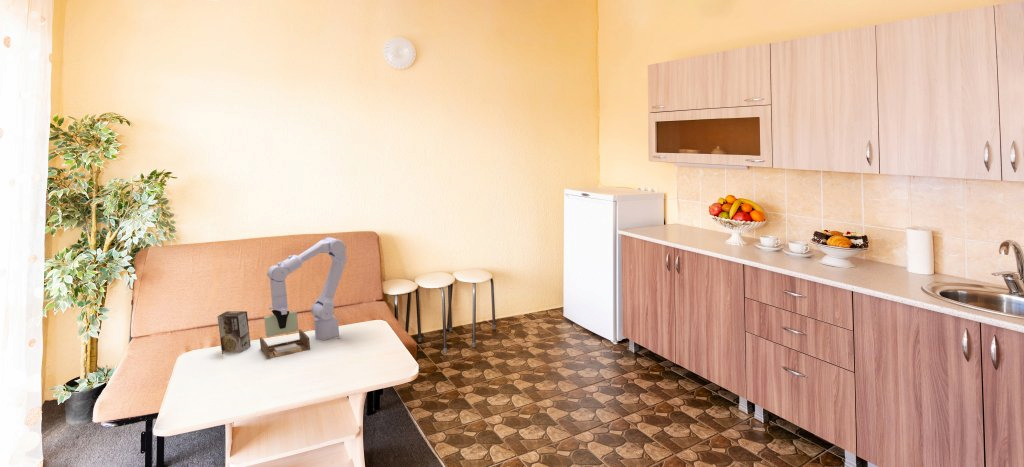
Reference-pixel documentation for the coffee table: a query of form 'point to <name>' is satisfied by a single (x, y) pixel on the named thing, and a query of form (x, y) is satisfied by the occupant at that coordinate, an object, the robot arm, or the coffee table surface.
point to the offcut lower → (287, 352)
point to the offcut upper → (285, 348)
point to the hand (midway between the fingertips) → (281, 327)
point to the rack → (269, 350)
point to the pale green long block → (273, 326)
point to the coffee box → (234, 331)
